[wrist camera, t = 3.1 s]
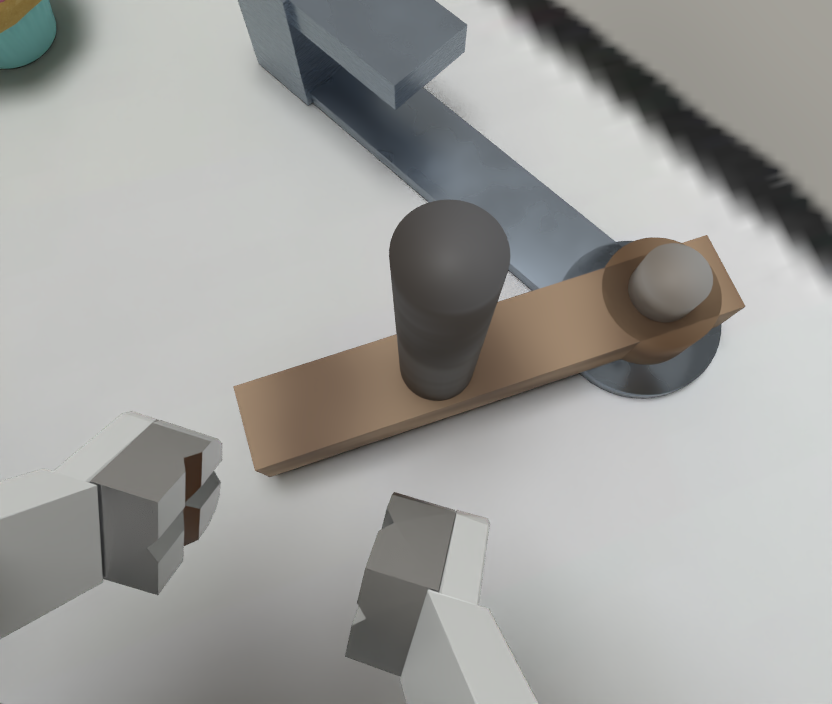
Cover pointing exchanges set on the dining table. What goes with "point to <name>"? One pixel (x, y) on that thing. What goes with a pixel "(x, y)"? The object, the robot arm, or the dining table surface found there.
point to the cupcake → (25, 31)
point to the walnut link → (481, 335)
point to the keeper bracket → (441, 142)
